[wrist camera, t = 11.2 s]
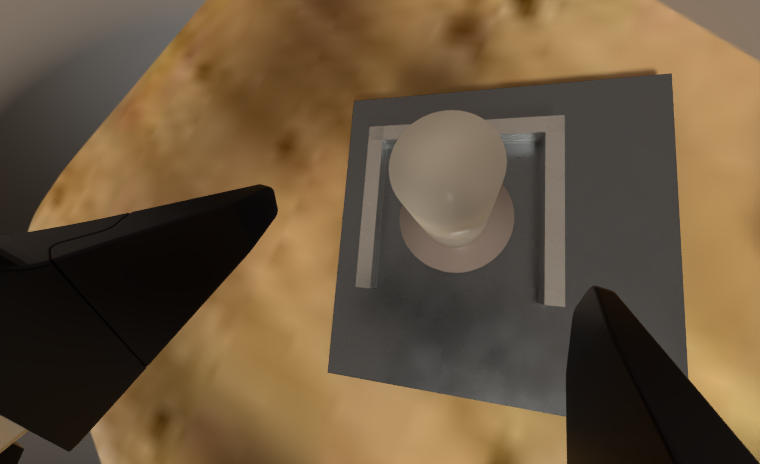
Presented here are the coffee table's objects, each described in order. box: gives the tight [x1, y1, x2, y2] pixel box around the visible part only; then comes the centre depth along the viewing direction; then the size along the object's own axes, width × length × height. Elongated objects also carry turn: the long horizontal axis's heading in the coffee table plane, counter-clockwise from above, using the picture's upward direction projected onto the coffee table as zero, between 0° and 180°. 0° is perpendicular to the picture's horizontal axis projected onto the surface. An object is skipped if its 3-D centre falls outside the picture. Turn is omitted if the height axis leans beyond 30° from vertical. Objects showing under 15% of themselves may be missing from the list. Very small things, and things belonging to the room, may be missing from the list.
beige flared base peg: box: [389, 110, 514, 273], centre depth 15 cm, size 7×7×10 cm
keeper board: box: [328, 74, 688, 416], centre depth 19 cm, size 20×20×2 cm
